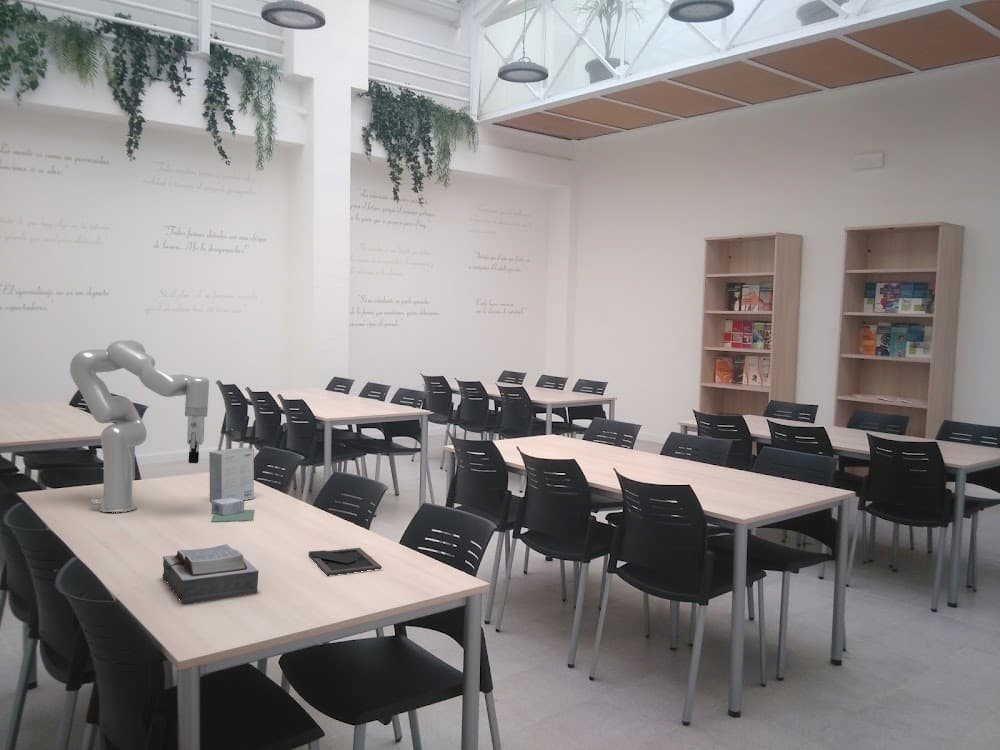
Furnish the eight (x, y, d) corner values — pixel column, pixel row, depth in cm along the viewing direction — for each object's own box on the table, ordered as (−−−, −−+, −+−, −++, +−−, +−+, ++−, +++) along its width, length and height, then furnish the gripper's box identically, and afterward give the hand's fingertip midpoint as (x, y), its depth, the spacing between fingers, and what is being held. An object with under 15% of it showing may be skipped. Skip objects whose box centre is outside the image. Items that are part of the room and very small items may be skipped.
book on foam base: (161, 608, 198) (161, 568, 197) (161, 575, 222) (162, 540, 222) (259, 598, 206) (260, 560, 206) (249, 568, 231) (250, 534, 231)
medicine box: (222, 516, 288) (244, 512, 294) (222, 503, 287) (244, 500, 294) (211, 512, 293) (232, 508, 299) (211, 500, 292) (232, 496, 299)
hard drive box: (242, 496, 322) (243, 447, 321) (254, 499, 318) (255, 449, 317) (208, 502, 310) (208, 451, 309) (220, 505, 305) (221, 453, 304)
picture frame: (308, 557, 243) (327, 578, 225) (308, 551, 243) (327, 571, 225) (359, 552, 251) (381, 571, 232) (359, 546, 251) (381, 565, 232)
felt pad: (211, 522, 280) (211, 521, 280) (214, 511, 295) (214, 510, 295) (253, 521, 284) (253, 519, 283) (254, 510, 299) (254, 509, 299)
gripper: (205, 415, 279) (202, 467, 281) (209, 409, 294) (206, 459, 295) (182, 414, 277) (179, 466, 279) (187, 408, 292) (184, 458, 293)
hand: (193, 462), depth 287 cm, fingers closed
